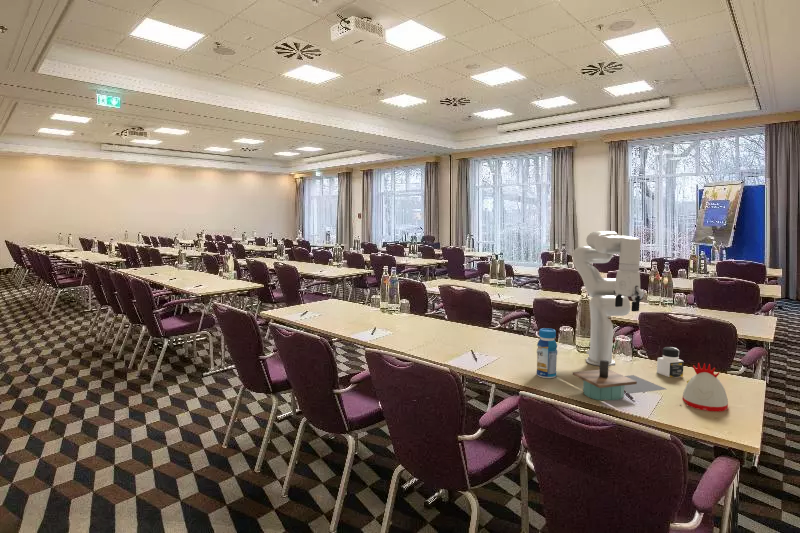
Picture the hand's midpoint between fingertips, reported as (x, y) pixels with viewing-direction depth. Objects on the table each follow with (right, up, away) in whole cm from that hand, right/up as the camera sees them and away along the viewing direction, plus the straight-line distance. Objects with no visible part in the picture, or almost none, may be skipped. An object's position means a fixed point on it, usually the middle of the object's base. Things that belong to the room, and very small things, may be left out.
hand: (626, 308), depth 202 cm
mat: (-1, -30, -5) cm, 31 cm away
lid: (-17, -25, -16) cm, 34 cm away
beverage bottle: (-31, -29, +7) cm, 43 cm away
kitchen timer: (+16, -32, -25) cm, 44 cm away
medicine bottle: (+22, -29, +7) cm, 37 cm away
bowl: (-17, -31, -16) cm, 39 cm away
